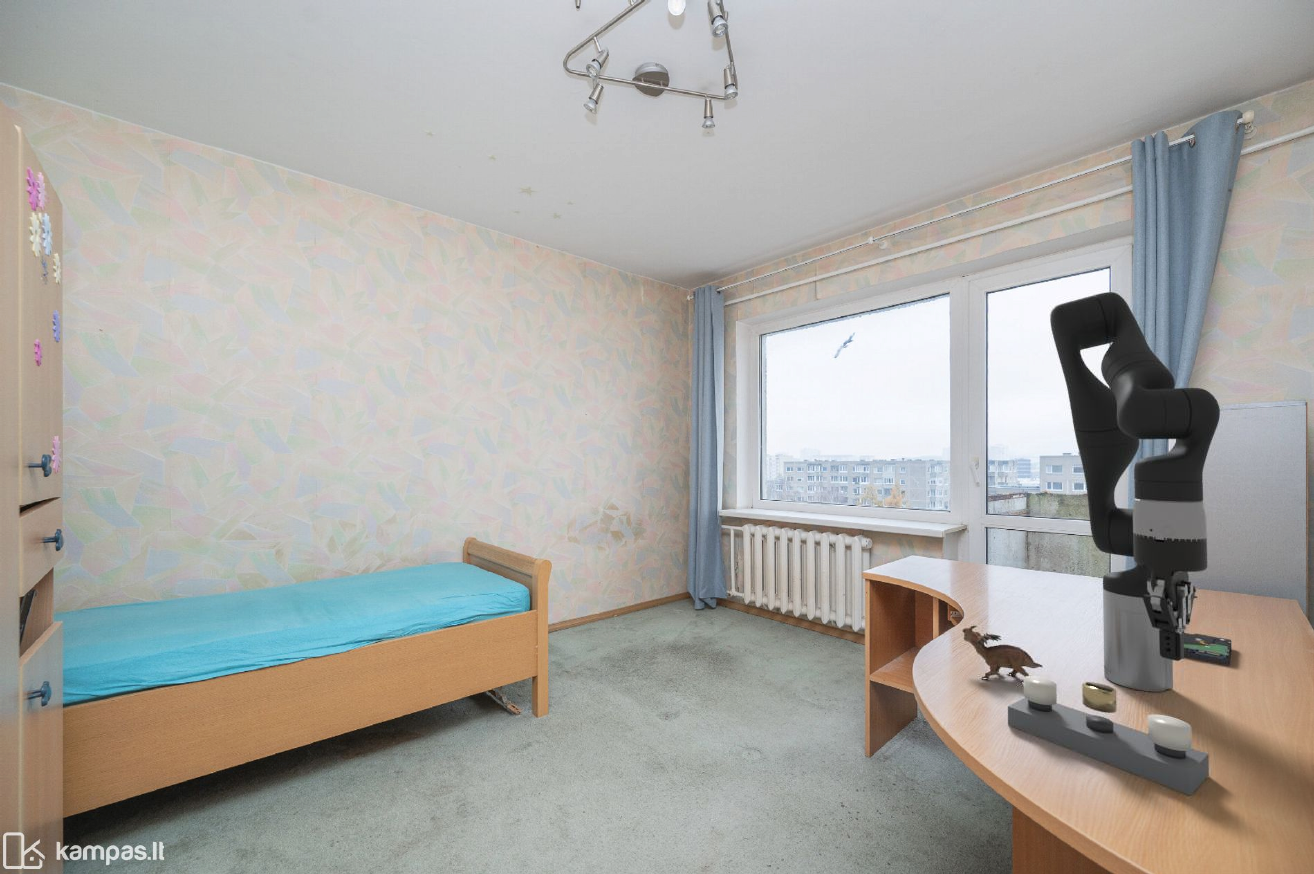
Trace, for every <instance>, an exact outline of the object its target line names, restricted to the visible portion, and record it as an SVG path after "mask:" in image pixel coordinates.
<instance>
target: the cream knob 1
mask: <svg viewBox="0 0 1314 874" xmlns="http://www.w3.org/2000/svg"><path fill="white" fill-rule="evenodd" d="M1023 679H1024V684H1023V697H1024V698H1026V699H1027V700H1029V701H1032V702H1034V703H1038V704H1043V705H1055V704H1056V703H1058V702H1057V698H1058V697H1057V695H1058V693H1057V683H1056V682H1055V681H1053V680H1051V679H1049V678H1047V677H1046V678H1045V677H1042V676H1038V675H1037V676H1036V675H1029V676H1026V677H1024V676H1023Z"/></svg>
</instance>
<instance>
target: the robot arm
mask: <svg viewBox="0 0 1314 874" xmlns="http://www.w3.org/2000/svg"><path fill="white" fill-rule="evenodd" d="M1049 316H1050V317H1049V318H1050V319H1049V321H1050V329H1051V334H1052V337H1053V341H1054V345H1055V347H1056V348H1055V349H1056V353H1057V356H1058V359H1059V362H1060V366H1061V369H1062V373H1063V376H1064V381H1065V385H1066V390H1067V394H1068V400H1069V406H1070V413H1071V418H1072V424H1073V431H1074V436H1075V439H1076V444H1077V447H1078V453H1079V457H1080V460H1081V465H1082V466H1081V467H1082V469H1083V470H1082V471H1083V475H1084V480H1085V485H1086V494H1087V495H1086V496H1087V504H1088V515H1089V524H1090V531H1091V536H1092V540H1093V543H1094V545H1095V547H1096V548H1097V549H1098V550H1099V551H1100V552H1102V553H1105V554H1110V555H1117V556H1122V557H1123V556H1124V557H1132V558H1133V561H1134V562H1135V564H1136V566H1135V567H1133V568H1131V569H1128V570H1120V571H1119V570H1118V571H1112V572H1108V573H1105V574H1104V575H1103V577H1102V604H1103V605H1102V606H1103V607H1102V608H1103V609H1102V610H1103V613H1102V614H1103V616H1102V619H1103V622H1102V623H1103V673H1104V677H1105V679H1106V680H1108V681H1110V682H1112V683H1114V684H1117V685H1119V686H1122V687H1125V688H1130V689H1133V690H1138V691H1145V692H1156V693H1157V692H1165V691H1166V690H1174V673H1173V672H1174V669H1173V667H1174V663H1173V662H1174V661H1176V662H1179V661H1181V660H1182V659H1184V658H1185V657H1184V633H1183V632H1185V633H1186V630H1187V628H1188V627H1187V626H1188V625H1190V623H1191V616H1192V610H1193V605H1194V601H1195V595H1196V592H1197V589H1196V587H1195V585H1194V583H1193V582H1192V581H1189V580H1190V577H1189V573H1194V572H1195V573H1197V572H1198V573H1199V572H1203V571H1205V570H1207V568H1208V539H1207V538H1208V537H1207V536H1208V535H1207V532H1208V531H1207V516H1206V510H1205V506H1204V505H1205V504H1204V485H1203V483H1204V482H1203V481H1204V480H1203V474H1204V467H1205V465H1206V464H1205V463H1206V460H1207V456H1208V453H1209V451H1210V450H1209V449H1210V448H1211V447H1210V446H1211V443H1212V441H1213V438H1214V437H1215V436H1214V435H1215V433H1216V430H1217V429H1218V426H1219V422H1220V417H1221V415H1220V414H1221V410H1220V409H1221V408H1220V405H1219V403H1218V401H1217V399H1216V398H1215V396H1214V395H1213V394H1212V393H1211V392H1209V391H1208V390H1206V389H1205V388H1199V387H1179V388H1176V387H1175V386H1176V382H1175V381H1176V380H1175V378H1174V376H1173V374H1172V373H1171V371H1170V370H1169V369H1168V368H1167V367H1166V366H1165V364H1164V363H1163V362H1162V361H1161V360H1160V359H1159V358H1158V357H1157V356H1156V354H1155V353H1154V352H1153V350H1151V348H1150V346H1149V344H1148V342H1147V340H1146V338H1145V336H1144V334H1143V331H1142V330H1141V327H1140V325H1139V324H1138V321H1137V320H1136V318H1135V316H1134V314H1133V312H1132V310H1131V308H1130V307H1129V304H1128V303H1127V301H1126V299H1124V298H1123V297H1122V295H1120V294H1119V293H1117V292H1113V291H1107V292H1101V293H1098V294H1093V295H1090V296H1086V297H1082V298H1078V299H1073V300H1070V301H1067V302H1064V303H1060V304H1056V305H1055V306H1053V307H1052V309H1051V310H1050V313H1049ZM1108 344H1110V346H1109V347H1108V348H1107V350H1106V352H1105V353H1104V354H1103V357H1102V360H1101V363H1100V364H1101V365H1100V373H1101V374H1102V375H1101V376H1102V377H1103V380H1104V381H1105V382H1106V384H1105V383H1103V381H1101V380H1100V379H1099V378H1098V377H1097V376H1096V374H1094V373H1093V372H1092V371H1091V370H1090V368H1088V366H1087V365H1086V362H1085V361H1084V359H1083V357H1082V354H1081V351H1082V350H1086V349H1091V348H1096V347H1100V346H1104V345H1108ZM1140 440H1175V443H1174V445H1173V446H1172V448H1171V449H1170V450H1169V451H1168V452H1166V453H1164V454H1163V453H1162V454H1158V455H1153V456H1147V457H1144V458H1140V459H1138V460H1137V461H1136V462H1135V464H1134V469H1133V479H1134V505H1133V508H1124V507H1123V508H1122V507H1118V506H1116V501H1115V491H1116V487H1117V485H1118V483H1119V480H1120V479H1121V477H1122V475H1123V474H1124V472H1126V470H1127V468H1128V467H1129V466H1130V464H1131V463H1132V462H1133V460H1134V458H1135V457H1136V455H1137V453H1138V450H1139V449H1140V448H1139V447H1140Z"/></svg>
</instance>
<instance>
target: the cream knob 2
mask: <svg viewBox="0 0 1314 874" xmlns="http://www.w3.org/2000/svg"><path fill="white" fill-rule="evenodd" d="M1147 732H1148V733H1147V734H1148V738H1149V739H1150V740H1151V741H1152V742H1154V743H1156V744H1158V745H1160V746H1162V747H1165V748H1169V749H1172V750H1178V751H1190V750H1191V749H1193V746H1192V726H1191V724H1189V723H1188V722H1186V721H1183V720H1181V719H1179V718H1176V717H1173V716H1169V715H1164V714H1149V715H1148V716H1147Z"/></svg>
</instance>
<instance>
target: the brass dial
mask: <svg viewBox="0 0 1314 874" xmlns="http://www.w3.org/2000/svg"><path fill="white" fill-rule="evenodd" d="M1081 687H1082V688H1081V689H1082V695H1081V696H1082V706H1084V707H1086V708H1088V709H1090V710H1093V711H1097V712H1099V713H1100V712H1101V713H1105V714H1112V713H1113V714H1114V713H1116V712H1117V705H1118V704H1117V690H1116V688H1114V687H1112V686H1109V685H1107V684H1103V683H1099V682H1093V681H1086V682H1083V683H1082V686H1081Z"/></svg>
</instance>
